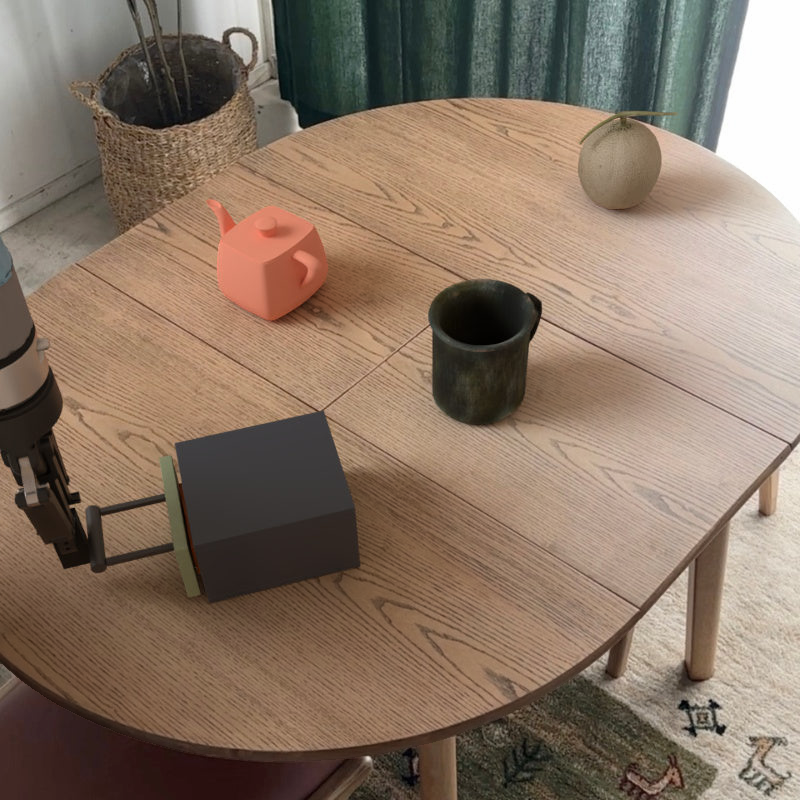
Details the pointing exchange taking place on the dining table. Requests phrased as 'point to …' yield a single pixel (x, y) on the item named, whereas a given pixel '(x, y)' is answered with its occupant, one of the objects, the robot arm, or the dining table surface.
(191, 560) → the drawer
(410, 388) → the dining table surface
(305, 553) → the cabinet
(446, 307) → the mug
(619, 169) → the fruit
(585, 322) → the dining table surface
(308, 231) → the teapot
